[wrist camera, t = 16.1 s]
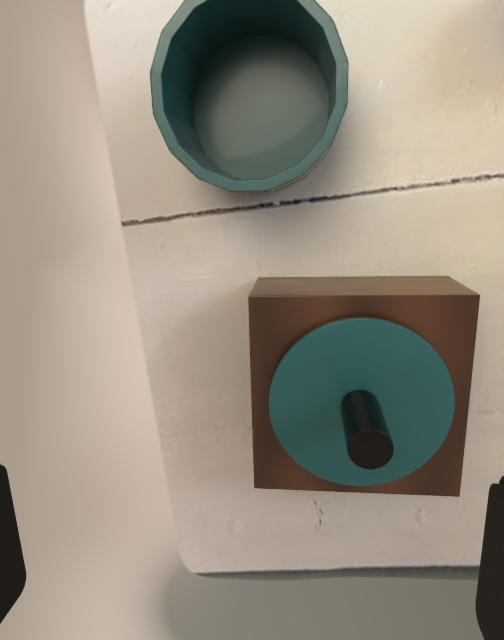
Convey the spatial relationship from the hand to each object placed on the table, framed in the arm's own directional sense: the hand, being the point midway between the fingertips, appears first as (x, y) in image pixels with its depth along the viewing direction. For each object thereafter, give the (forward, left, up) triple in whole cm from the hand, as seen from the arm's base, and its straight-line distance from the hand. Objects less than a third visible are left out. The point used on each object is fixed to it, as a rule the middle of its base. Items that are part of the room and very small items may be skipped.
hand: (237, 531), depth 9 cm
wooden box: (+5, -8, -30) cm, 32 cm away
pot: (-2, +12, -30) cm, 33 cm away
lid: (+5, -8, -23) cm, 25 cm away
